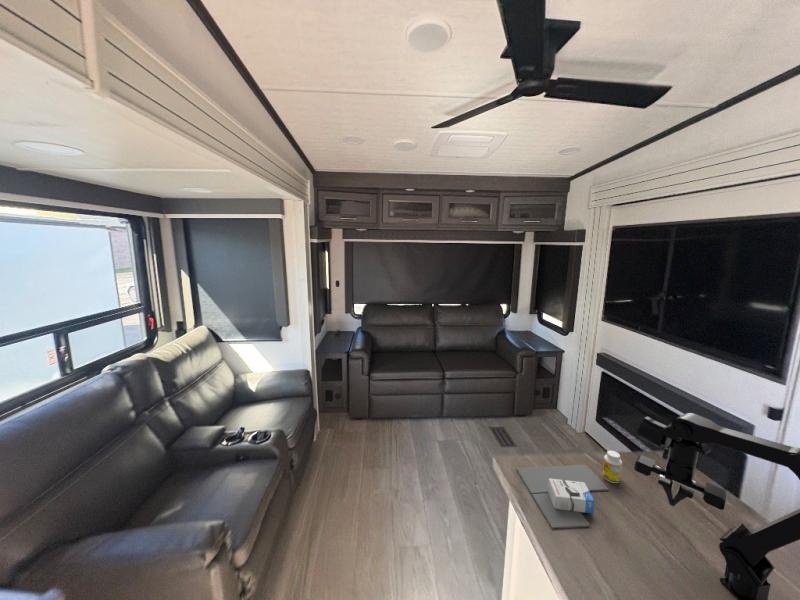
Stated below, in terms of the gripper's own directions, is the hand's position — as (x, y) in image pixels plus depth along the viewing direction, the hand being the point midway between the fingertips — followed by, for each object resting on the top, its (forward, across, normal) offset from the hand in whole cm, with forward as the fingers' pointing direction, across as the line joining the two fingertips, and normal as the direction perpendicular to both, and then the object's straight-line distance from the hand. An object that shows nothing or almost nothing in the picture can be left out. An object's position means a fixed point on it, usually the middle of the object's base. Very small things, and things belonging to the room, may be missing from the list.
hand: (671, 504), depth 88 cm
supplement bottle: (+13, +18, -16) cm, 27 cm away
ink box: (+10, +19, +3) cm, 22 cm away
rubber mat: (+13, +25, +2) cm, 28 cm away
